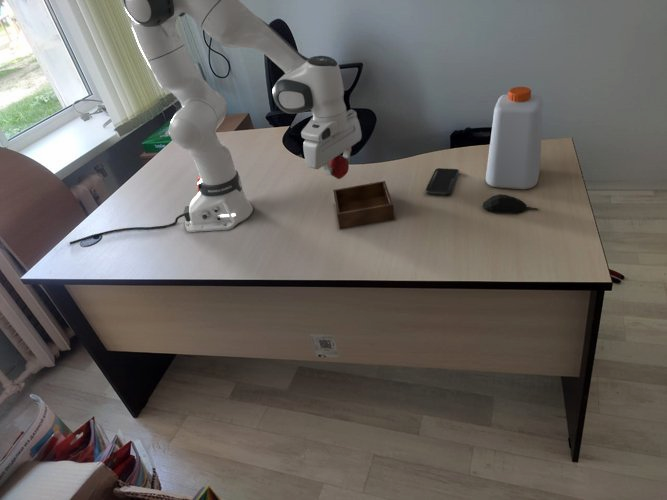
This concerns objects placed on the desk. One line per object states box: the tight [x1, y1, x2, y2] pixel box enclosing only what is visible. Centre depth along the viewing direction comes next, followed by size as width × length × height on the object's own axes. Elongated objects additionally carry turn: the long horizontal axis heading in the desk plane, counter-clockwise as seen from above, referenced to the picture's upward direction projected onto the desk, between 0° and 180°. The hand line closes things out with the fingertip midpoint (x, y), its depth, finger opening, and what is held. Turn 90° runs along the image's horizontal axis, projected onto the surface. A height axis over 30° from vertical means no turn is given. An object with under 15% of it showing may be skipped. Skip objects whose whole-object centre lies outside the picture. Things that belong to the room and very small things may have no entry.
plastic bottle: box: [485, 86, 544, 190], centre depth 141 cm, size 15×15×28 cm
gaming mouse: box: [482, 193, 538, 214], centre depth 136 cm, size 6×15×4 cm, turn 71°
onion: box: [329, 154, 350, 180], centre depth 133 cm, size 6×6×8 cm
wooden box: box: [332, 180, 396, 230], centre depth 146 cm, size 17×15×5 cm
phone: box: [425, 167, 460, 197], centre depth 153 cm, size 8×1×15 cm
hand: (338, 168), depth 133 cm, fingers closed on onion, 6 cm apart
